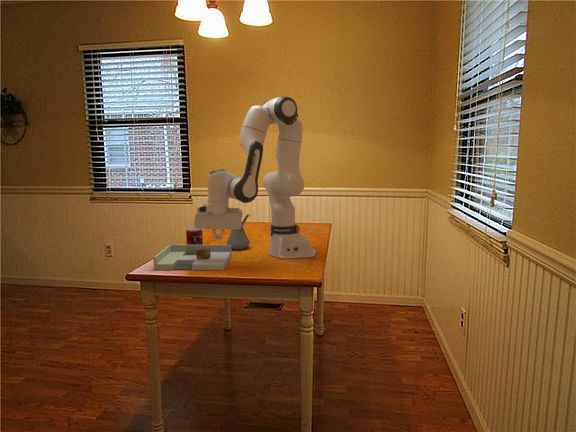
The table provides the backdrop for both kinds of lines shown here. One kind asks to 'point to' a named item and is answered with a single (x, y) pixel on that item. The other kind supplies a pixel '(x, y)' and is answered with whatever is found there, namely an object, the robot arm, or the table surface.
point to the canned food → (194, 236)
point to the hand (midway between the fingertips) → (218, 239)
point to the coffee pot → (238, 238)
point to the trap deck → (192, 258)
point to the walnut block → (203, 253)
